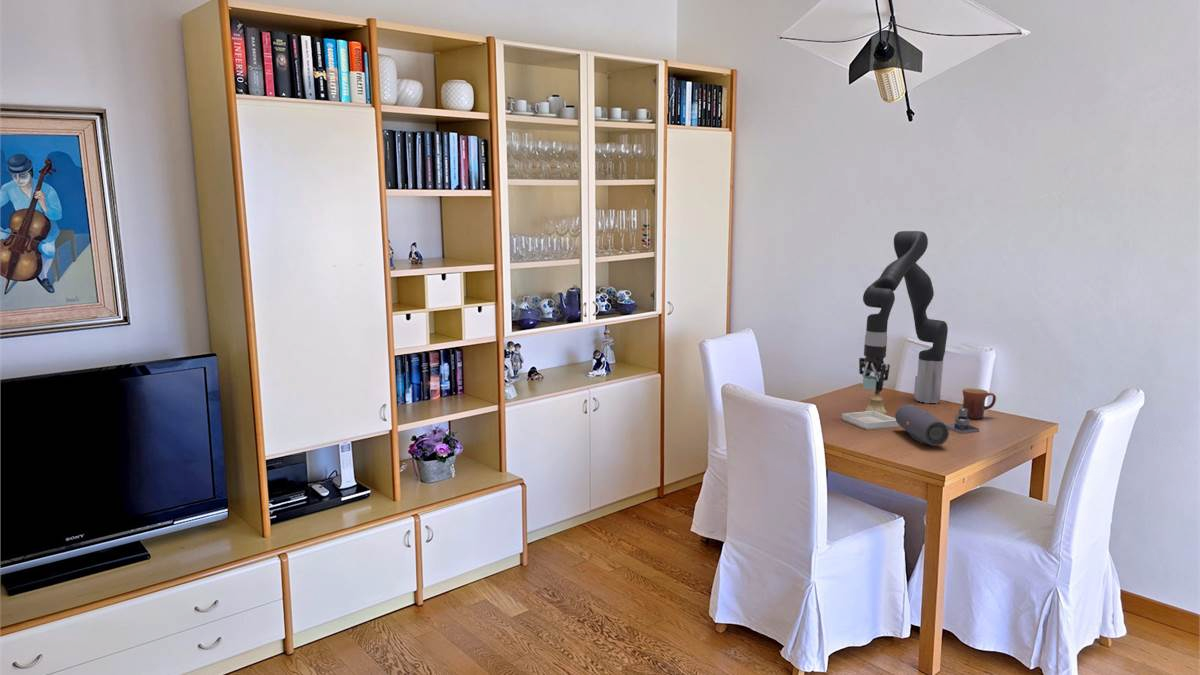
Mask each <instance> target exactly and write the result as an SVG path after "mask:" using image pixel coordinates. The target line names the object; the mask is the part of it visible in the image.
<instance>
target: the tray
mask: <svg viewBox="0 0 1200 675" xmlns="http://www.w3.org/2000/svg"><path fill="white" fill-rule="evenodd" d="M841 416H842V417H841V418H842V419H841V420H842V421H843V422H846V423H849V424H850V425H853V426H856V427H858V428H861V429H864V430H866V431H870V430H881V429H890V428H896V427H897V428H899V427H900V425H899V424H898V423H897V421H896V419H895V417H892V416H890V415H887V414H881V413H879V412H876V411H865V410H864V411H857V412H856V411H855V412H845V413H842V415H841Z"/></svg>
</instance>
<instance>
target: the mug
mask: <svg viewBox="0 0 1200 675" xmlns="http://www.w3.org/2000/svg"><path fill="white" fill-rule="evenodd" d="M962 395H963V400H962V408H966V409H968V411H967V418H973V419H972V420H980V419H979V418H981V419H982V418H984V416H985V410H989V409H991V408H993V407H994V405H995V404H996V402H997V401H996V400H997V397H996V394H995V393H992V392H988V390H985V389H981V388H973V387H965V388H962ZM989 396H992V400H991V403H990V404H989V405H986V406H985V402H986V398H987V397H989Z"/></svg>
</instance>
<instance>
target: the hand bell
mask: <svg viewBox="0 0 1200 675" xmlns="http://www.w3.org/2000/svg"><path fill="white" fill-rule="evenodd" d="M879 372H880V371H879ZM879 377H880V375H879ZM880 394H881V393H880V392H877V391H874V396H872V397H870V400H869V403H868V405H867V407H866V408H865V409H864V412H865V411H876V412H879V413H881V414H884V415H887V414H888V410H886V408H885V404H884V399H883V398H882V397H881V395H880Z"/></svg>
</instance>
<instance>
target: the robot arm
mask: <svg viewBox="0 0 1200 675" xmlns="http://www.w3.org/2000/svg"><path fill="white" fill-rule="evenodd" d="M928 245H929V238H928V235H927V234H926V233H925V231H921V230H916V231H915V230H903V231H902V230H901V231H897V232H896V233H895V235H894V236H893V248H894V251H895V252H894V253H895V255H896V258H897V259H895V260H893V261H892V262H891V263H890V264H888V265H886V267H885V268H884V270H883V271H882V273H881V275H880V276H879V278H877V279H876V280H875V281H874V282H873V283H871V284H870V285H869V286H868V287H867V288H866V289H865V290H864V293H863V296H862V301H863V304H864V305H865V306H866V307H869V308H875V309H876V308H877V309H880V311H879V312H878V313H871V314H869V315H867V318H866V329H865V330H866V331H865V335H864V345H863V346H864V347H863V348H864V349H863V355H864V357H859V362H858V363H859V364H858V365H859V366H858V370H859V371H858V372H859V375H861V376H862V378H863V377H864V376H871V374H872V373H873V376H876V380H877V381H876V391H877V392H879V393H880V392H882V391H883V381H884V382H885V381H888V380H889V375H890V374H889V373H890V367H891V366H890V364H889V363H885V362H884V359H885V358H886V357H887V346H888V345H887V344H888V325H889V324H888V322H889V317H890V315H891V313H892V312H891V311H892V309H893V307H894V304H895V301H896V297H895V296H896V295H895V293H894V292H895V291H896V290H897V289H898V287H899V285H900V283H901V281H902V280H903V278H904V283H905V286H906V291H907V294H908V299H909V301H910V305H911V306H910V307H911V310H912V313H913V322H914V328H915V334H916V337H917V339H918V340H919V341H921V342H923V343H925V342H926V343H931V344H932V347H931V348H928V349H925V350H920V351H919V353H918V362H917V363H918V364H917V375H916V376H915V378H914V381H915V382H914V389H913V390H914V391H913V399H914V398H915V399H916V400H917V401H916V400H915V399H914V400H915V401H916V402H918V401H920V402H919V403H921V402H924V403H923V404H929V403H934V402H939V401H941V392H942V378H943V371H944V370H943V367H944V359H945V358H944V357H945V354H946V347H947V339H948V330H949V328H948V324H947V322H946V321H944V320H939V319H934V318H933V319H932V318H928V315H927V309H928V307H929V305H930V304H931V302H932V300H933V299H934V295H935V294H934V293H935V292H934V287H933V284H932V283H933V282H932V279H931V277H930V275H929V274H928V273H927V272H926V271H925V270H924V269H923V268H921V266H919V264H918V263H917V262H918V261H919V260H920V259H921V258H922V256H924V254H925V252H926V250H927V248H928ZM879 371H880V372H879ZM879 375H880V378H879ZM939 403H940V402H939Z"/></svg>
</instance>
